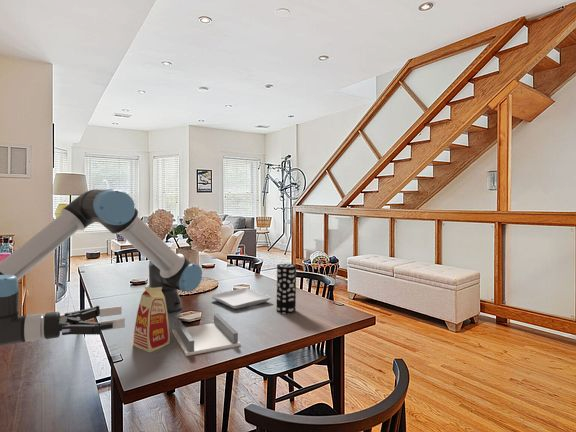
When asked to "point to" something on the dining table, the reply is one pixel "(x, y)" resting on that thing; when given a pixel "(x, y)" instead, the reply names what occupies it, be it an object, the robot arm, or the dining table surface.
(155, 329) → the milk carton
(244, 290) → the salad plate
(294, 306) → the white-spotted black cylinder
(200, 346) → the rail board
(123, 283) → the dining table surface
